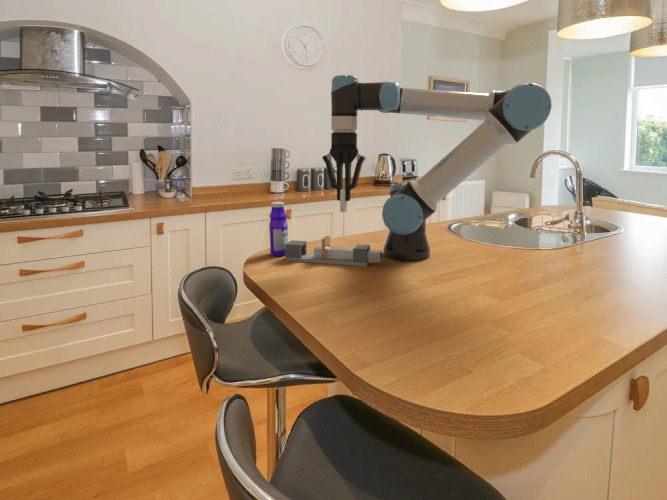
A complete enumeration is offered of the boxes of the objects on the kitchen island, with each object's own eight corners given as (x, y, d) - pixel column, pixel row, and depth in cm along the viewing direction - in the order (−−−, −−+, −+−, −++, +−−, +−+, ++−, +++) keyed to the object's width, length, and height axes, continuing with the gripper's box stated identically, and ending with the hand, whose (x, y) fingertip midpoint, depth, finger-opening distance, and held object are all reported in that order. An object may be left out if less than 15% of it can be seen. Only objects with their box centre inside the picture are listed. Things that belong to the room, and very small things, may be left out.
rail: (369, 261, 148) (370, 245, 147) (365, 266, 143) (365, 249, 141) (292, 255, 155) (292, 240, 154) (285, 260, 150) (285, 244, 148)
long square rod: (382, 258, 146) (382, 239, 145) (379, 263, 142) (379, 242, 140) (318, 254, 152) (317, 235, 151) (312, 258, 147) (312, 238, 146)
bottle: (284, 257, 153) (282, 204, 149) (267, 256, 155) (265, 203, 150) (290, 252, 160) (289, 201, 156) (274, 251, 162) (273, 200, 157)
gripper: (368, 131, 140) (367, 210, 145) (326, 131, 143) (326, 208, 149) (363, 131, 133) (361, 214, 138) (319, 131, 136) (319, 212, 142)
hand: (343, 211), depth 144 cm, fingers closed
